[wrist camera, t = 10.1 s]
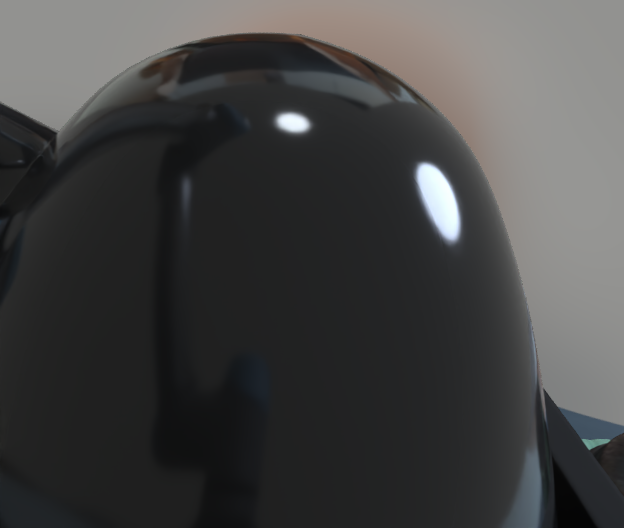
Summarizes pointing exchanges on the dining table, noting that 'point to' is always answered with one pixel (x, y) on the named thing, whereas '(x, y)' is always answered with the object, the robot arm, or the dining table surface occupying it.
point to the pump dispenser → (261, 306)
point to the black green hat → (610, 457)
